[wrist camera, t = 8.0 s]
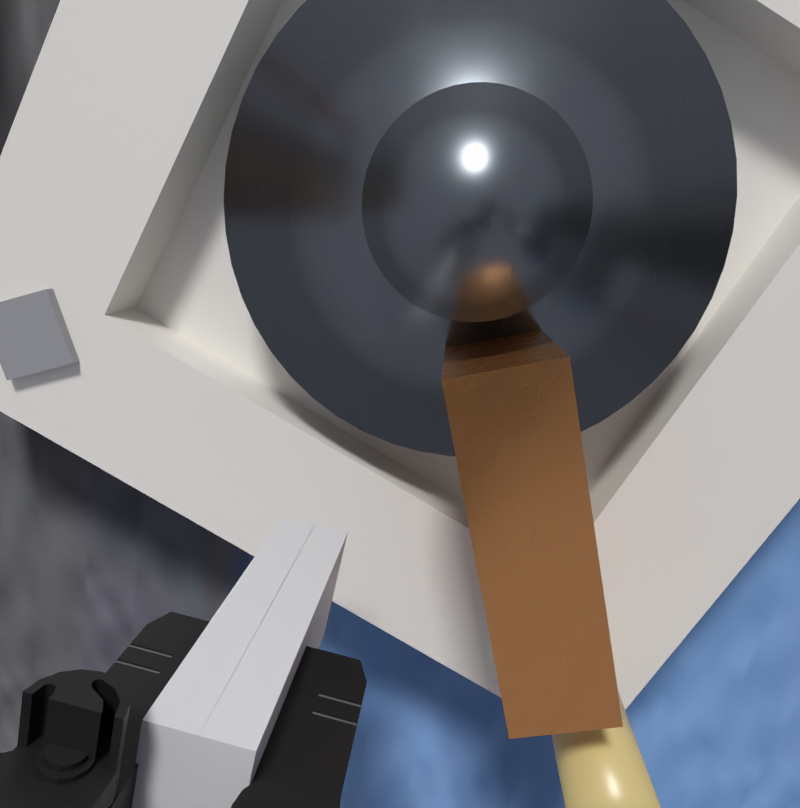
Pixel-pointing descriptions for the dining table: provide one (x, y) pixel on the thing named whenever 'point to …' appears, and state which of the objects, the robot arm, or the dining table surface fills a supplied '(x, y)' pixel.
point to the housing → (321, 429)
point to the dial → (489, 268)
